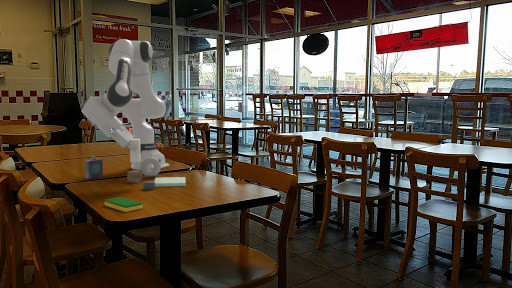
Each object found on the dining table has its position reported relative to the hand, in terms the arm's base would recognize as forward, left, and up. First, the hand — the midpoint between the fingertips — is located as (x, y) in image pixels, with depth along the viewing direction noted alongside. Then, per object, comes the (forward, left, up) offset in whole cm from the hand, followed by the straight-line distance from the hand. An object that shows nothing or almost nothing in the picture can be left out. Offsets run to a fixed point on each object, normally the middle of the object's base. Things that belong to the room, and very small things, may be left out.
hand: (136, 149), depth 184 cm
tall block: (0, 0, -5) cm, 5 cm away
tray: (-11, +10, -16) cm, 22 cm away
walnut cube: (-6, -7, -16) cm, 19 cm away
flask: (-2, -30, -17) cm, 35 cm away
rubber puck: (+3, +10, -16) cm, 19 cm away
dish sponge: (+30, +22, -17) cm, 41 cm away
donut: (-19, -9, -17) cm, 27 cm away
